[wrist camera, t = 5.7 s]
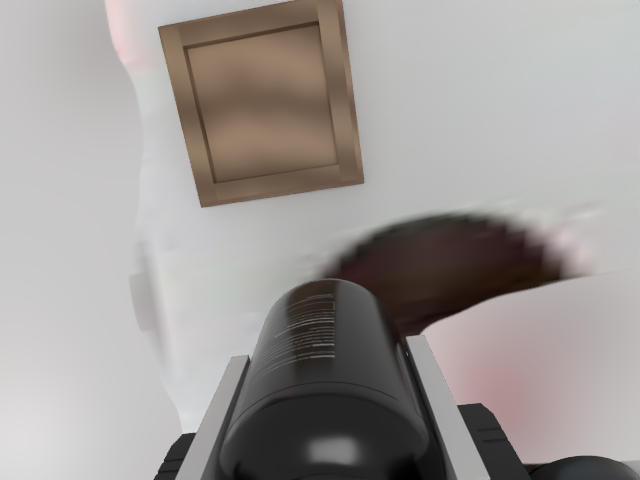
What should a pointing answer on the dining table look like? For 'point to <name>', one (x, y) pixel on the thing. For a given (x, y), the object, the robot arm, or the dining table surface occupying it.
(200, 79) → the walnut tray
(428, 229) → the dining table surface
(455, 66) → the dining table surface
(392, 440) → the supplement bottle
